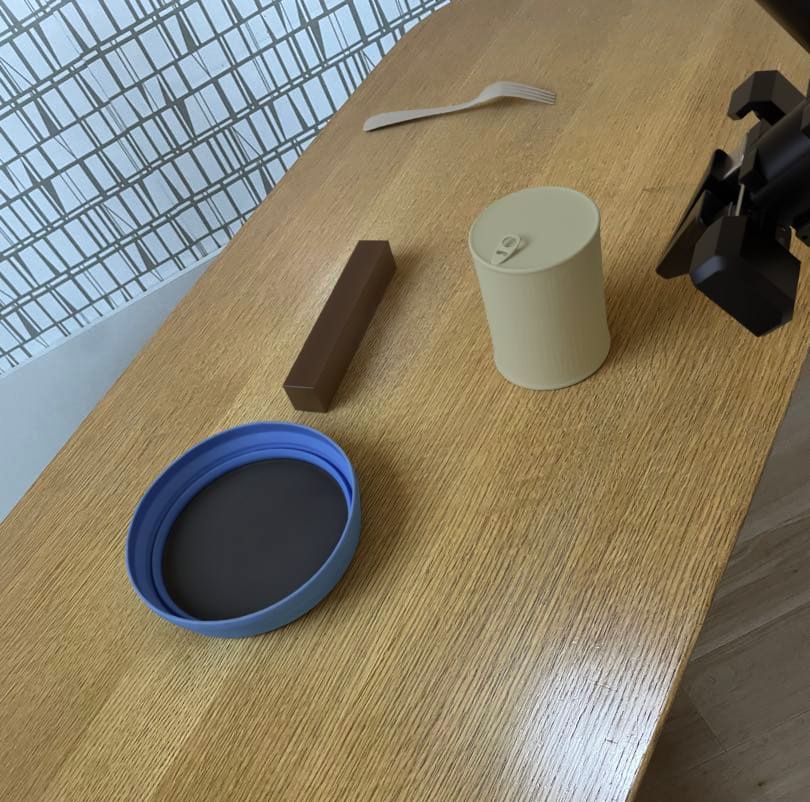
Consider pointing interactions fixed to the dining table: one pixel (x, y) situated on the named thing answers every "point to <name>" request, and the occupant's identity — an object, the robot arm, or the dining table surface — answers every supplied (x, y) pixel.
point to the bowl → (245, 530)
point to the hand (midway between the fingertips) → (661, 272)
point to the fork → (488, 93)
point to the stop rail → (340, 327)
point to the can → (543, 285)
